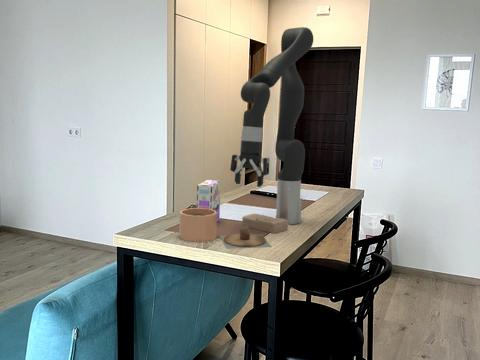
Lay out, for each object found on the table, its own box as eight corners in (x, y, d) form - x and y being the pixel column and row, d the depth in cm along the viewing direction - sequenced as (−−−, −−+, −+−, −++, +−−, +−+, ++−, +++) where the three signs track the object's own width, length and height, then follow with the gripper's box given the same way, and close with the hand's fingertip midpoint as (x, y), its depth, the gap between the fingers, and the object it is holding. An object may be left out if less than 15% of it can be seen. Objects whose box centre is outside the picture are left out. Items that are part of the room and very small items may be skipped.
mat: (260, 235, 166) (261, 234, 166) (271, 248, 151) (271, 246, 151) (219, 236, 163) (219, 235, 163) (226, 249, 148) (226, 248, 148)
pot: (213, 232, 169) (213, 207, 167) (218, 241, 156) (219, 215, 155) (178, 233, 166) (178, 208, 165) (181, 243, 154) (181, 216, 153)
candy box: (211, 228, 173) (211, 185, 171) (195, 227, 174) (196, 184, 172) (220, 220, 187) (220, 179, 184) (205, 219, 188) (206, 179, 185)
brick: (240, 227, 178) (240, 215, 177) (254, 223, 184) (255, 211, 184) (274, 236, 167) (275, 223, 167) (288, 231, 173) (289, 219, 173)
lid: (259, 234, 165) (260, 221, 164) (270, 246, 152) (270, 232, 151) (221, 236, 162) (221, 222, 162) (227, 248, 149) (228, 233, 148)
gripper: (274, 141, 164) (270, 186, 166) (238, 138, 171) (235, 182, 173) (265, 141, 158) (261, 188, 160) (229, 138, 164) (225, 183, 166)
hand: (248, 185), depth 166 cm, fingers open, 8 cm apart
